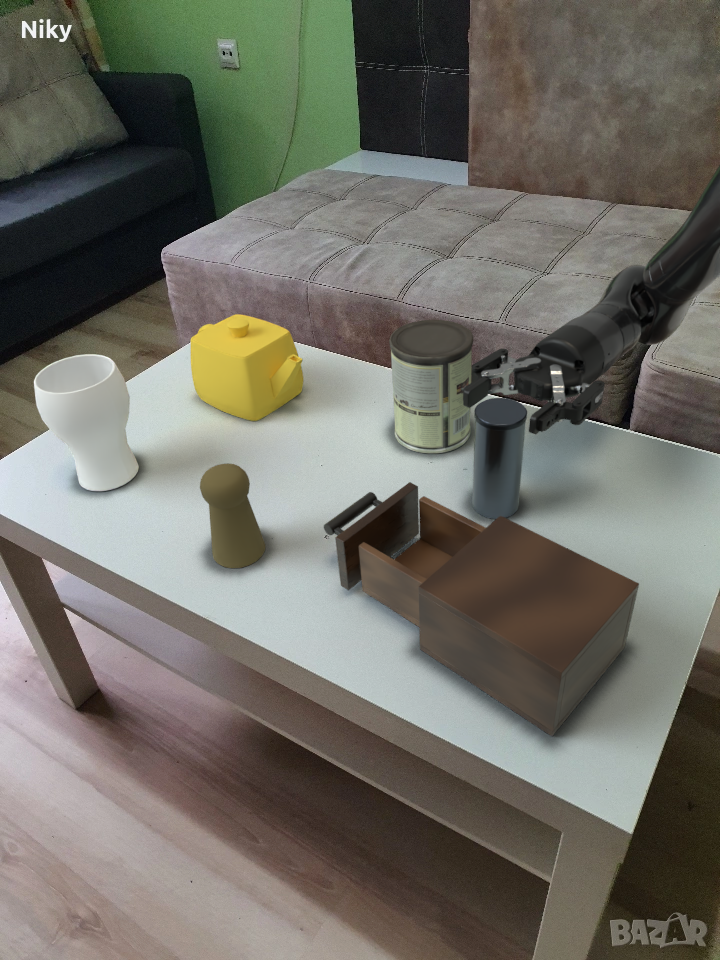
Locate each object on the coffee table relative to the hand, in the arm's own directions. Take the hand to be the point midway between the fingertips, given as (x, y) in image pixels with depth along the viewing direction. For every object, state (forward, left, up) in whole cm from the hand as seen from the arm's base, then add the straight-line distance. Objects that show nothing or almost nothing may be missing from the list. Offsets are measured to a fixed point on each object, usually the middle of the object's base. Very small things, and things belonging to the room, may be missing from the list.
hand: (498, 412), depth 81 cm
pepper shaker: (+25, +17, -13) cm, 33 cm away
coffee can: (+12, -12, -13) cm, 22 cm away
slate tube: (0, 0, -13) cm, 13 cm away
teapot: (+40, -13, -13) cm, 44 cm away
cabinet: (-8, +20, -13) cm, 25 cm away
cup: (+49, +10, -13) cm, 52 cm away
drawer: (+5, +15, -12) cm, 20 cm away
